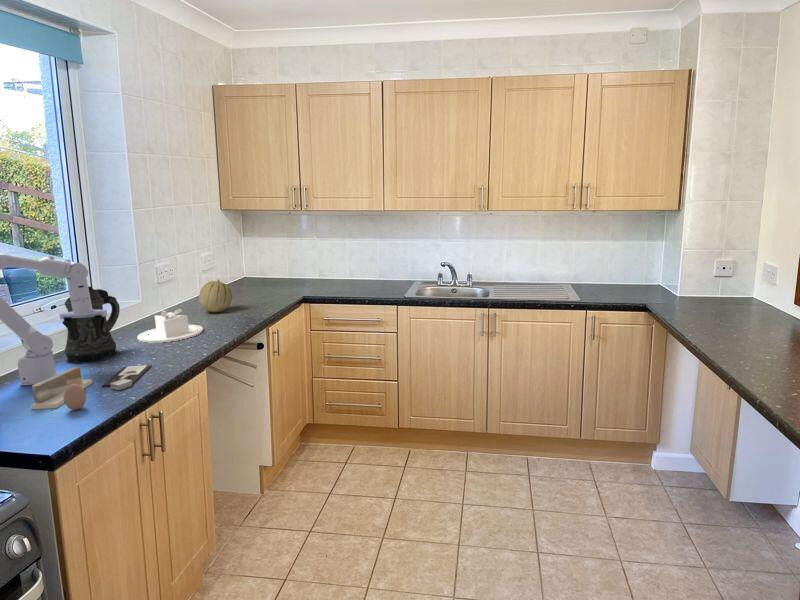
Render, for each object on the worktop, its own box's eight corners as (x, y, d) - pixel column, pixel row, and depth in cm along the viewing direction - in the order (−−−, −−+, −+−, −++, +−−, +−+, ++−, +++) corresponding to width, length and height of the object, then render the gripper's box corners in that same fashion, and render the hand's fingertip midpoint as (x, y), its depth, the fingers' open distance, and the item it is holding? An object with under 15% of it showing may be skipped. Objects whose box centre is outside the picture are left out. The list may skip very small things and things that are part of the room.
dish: (216, 330, 239) (212, 303, 236) (162, 347, 218) (158, 317, 216) (177, 325, 252) (174, 299, 250) (124, 340, 232) (120, 312, 229)
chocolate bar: (101, 385, 176) (123, 367, 193) (102, 388, 176) (124, 369, 193) (132, 383, 176) (151, 365, 194) (132, 386, 177) (151, 367, 194)
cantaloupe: (194, 315, 268) (190, 283, 265) (210, 308, 282) (206, 277, 279) (224, 315, 265) (220, 283, 262) (238, 308, 279) (235, 277, 276)
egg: (92, 405, 161) (87, 380, 160) (80, 413, 156) (76, 387, 155) (73, 405, 162) (69, 380, 160) (61, 413, 156) (57, 387, 155)
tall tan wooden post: (35, 402, 162) (31, 385, 161) (76, 382, 177) (74, 367, 176) (41, 403, 162) (38, 386, 161) (82, 382, 177) (79, 367, 176)
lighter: (119, 390, 172) (143, 382, 179) (118, 385, 172) (142, 376, 178) (105, 387, 176) (129, 378, 182) (104, 381, 175) (128, 373, 182)
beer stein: (55, 363, 203) (42, 293, 198) (91, 347, 222) (80, 283, 217) (98, 363, 201) (86, 292, 195) (131, 347, 219) (121, 281, 214)
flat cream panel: (31, 409, 161) (30, 405, 160) (69, 384, 180) (68, 380, 180) (57, 407, 161) (56, 403, 160) (92, 382, 180) (91, 379, 180)
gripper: (108, 294, 194) (115, 333, 197) (64, 297, 194) (72, 336, 197) (98, 299, 187) (105, 339, 190) (52, 302, 187) (61, 342, 190)
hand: (88, 338), depth 193 cm, fingers open, 7 cm apart
